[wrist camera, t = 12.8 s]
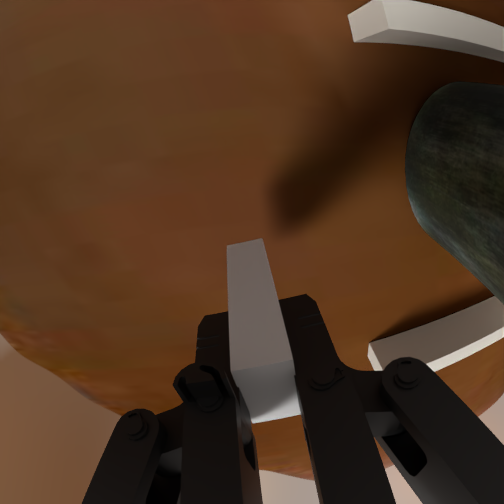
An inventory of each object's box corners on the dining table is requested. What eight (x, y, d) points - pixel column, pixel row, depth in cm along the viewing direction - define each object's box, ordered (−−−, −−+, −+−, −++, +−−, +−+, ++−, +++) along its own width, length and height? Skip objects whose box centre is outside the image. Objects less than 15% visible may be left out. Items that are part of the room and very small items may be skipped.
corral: (347, 15, 10) (380, -5, 7) (535, 55, 10) (567, 59, 7) (367, 356, 21) (383, 391, 17) (514, 296, 20) (534, 317, 17)
